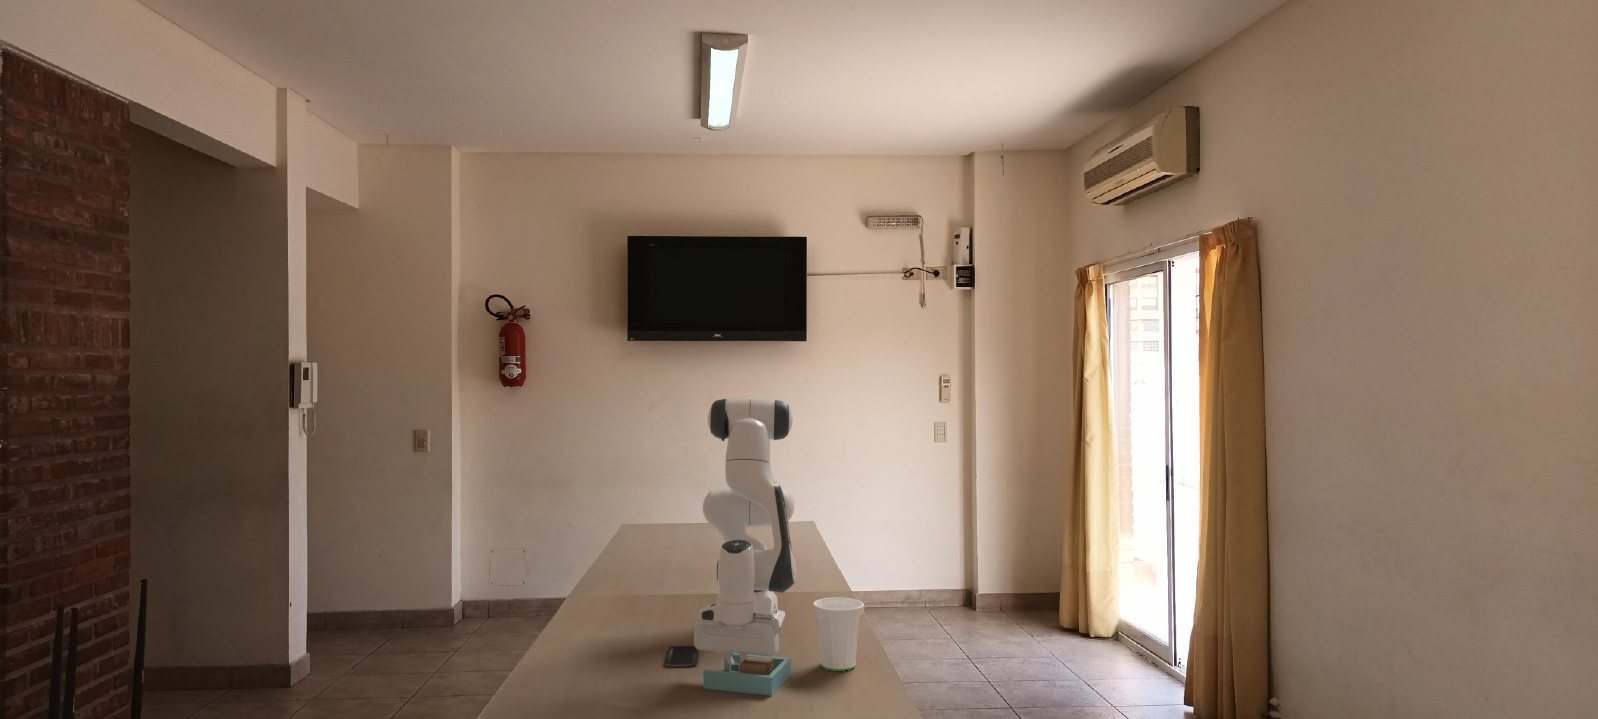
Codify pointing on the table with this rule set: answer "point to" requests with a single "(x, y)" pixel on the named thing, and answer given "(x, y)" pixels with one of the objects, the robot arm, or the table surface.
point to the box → (748, 677)
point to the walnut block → (757, 666)
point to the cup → (838, 631)
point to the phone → (682, 657)
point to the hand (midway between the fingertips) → (736, 671)
